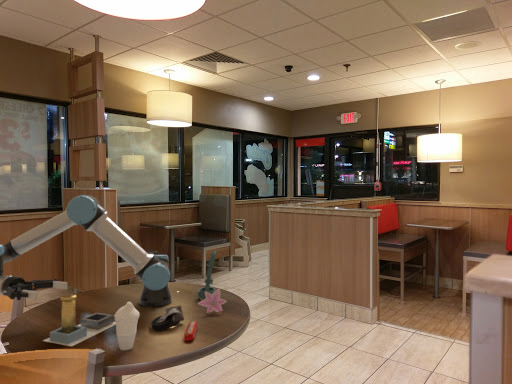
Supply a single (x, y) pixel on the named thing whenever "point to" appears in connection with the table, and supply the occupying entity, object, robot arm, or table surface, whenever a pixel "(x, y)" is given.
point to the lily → (213, 301)
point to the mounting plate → (89, 334)
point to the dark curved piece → (208, 278)
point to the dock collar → (68, 335)
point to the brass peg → (68, 313)
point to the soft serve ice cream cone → (126, 325)
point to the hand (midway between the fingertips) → (52, 290)
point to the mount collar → (97, 321)
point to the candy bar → (190, 331)
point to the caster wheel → (168, 319)
